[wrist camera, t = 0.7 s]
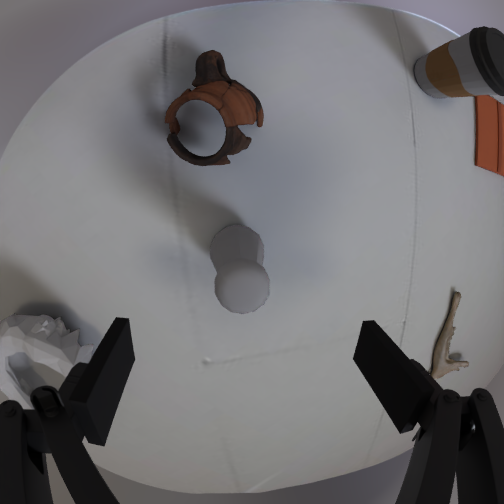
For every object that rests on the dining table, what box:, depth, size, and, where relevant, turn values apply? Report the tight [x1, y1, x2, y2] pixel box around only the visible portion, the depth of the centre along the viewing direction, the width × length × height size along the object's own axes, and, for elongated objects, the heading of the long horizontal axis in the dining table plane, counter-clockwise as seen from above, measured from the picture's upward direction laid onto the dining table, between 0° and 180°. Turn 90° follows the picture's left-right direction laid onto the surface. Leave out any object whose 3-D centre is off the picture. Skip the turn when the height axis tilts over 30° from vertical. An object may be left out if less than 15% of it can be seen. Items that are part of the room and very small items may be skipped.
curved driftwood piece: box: [431, 292, 469, 379], centre depth 42 cm, size 9×20×2 cm, turn 30°
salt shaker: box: [210, 225, 270, 314], centre depth 28 cm, size 6×6×13 cm
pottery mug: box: [165, 50, 264, 166], centre depth 27 cm, size 12×10×8 cm
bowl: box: [0, 313, 93, 409], centre depth 31 cm, size 21×20×10 cm
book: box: [475, 95, 504, 176], centre depth 32 cm, size 13×13×1 cm
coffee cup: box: [414, 26, 504, 98], centre depth 22 cm, size 8×8×15 cm
